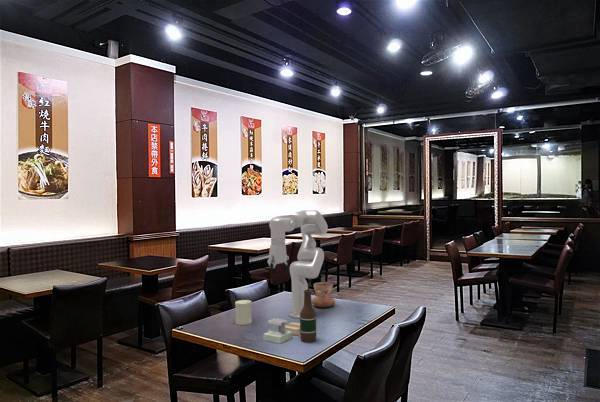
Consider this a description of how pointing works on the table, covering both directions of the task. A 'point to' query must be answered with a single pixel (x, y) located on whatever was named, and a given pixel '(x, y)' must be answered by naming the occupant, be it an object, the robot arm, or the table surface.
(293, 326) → the stand
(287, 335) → the stand
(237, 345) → the table surface
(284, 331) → the housing
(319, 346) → the table surface
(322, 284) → the ceramic jug
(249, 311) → the can
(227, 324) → the table surface
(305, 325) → the beer bottle
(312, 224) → the robot arm
